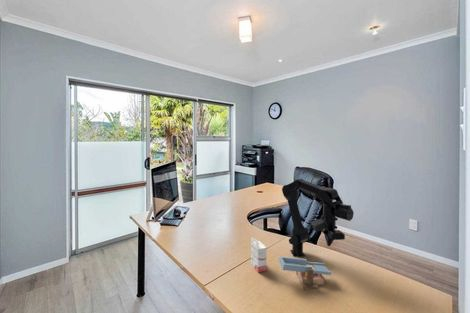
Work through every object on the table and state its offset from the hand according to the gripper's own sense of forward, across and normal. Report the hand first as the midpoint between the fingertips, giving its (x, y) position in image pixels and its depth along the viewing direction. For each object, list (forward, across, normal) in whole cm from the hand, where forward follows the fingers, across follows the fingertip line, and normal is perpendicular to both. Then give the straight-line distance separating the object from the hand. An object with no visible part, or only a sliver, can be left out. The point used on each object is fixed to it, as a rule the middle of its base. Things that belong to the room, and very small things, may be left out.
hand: (328, 245), depth 109 cm
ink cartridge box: (+12, -4, -34) cm, 36 cm away
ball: (+10, +8, -13) cm, 18 cm away
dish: (+12, +8, -12) cm, 19 cm away
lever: (+6, +8, -15) cm, 18 cm away
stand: (+12, +8, -14) cm, 20 cm away
